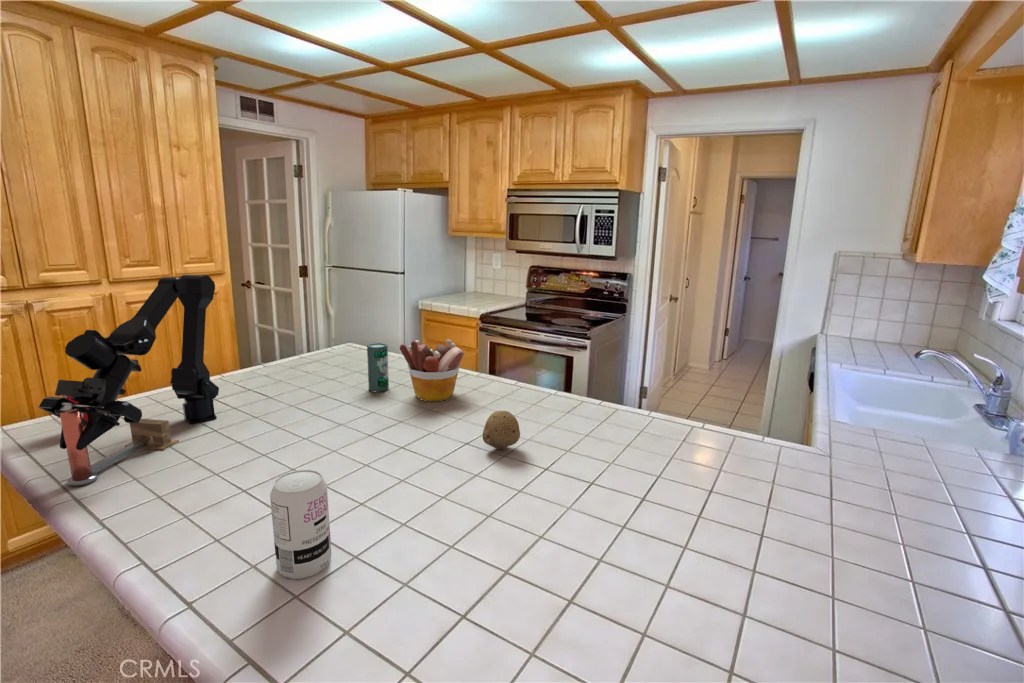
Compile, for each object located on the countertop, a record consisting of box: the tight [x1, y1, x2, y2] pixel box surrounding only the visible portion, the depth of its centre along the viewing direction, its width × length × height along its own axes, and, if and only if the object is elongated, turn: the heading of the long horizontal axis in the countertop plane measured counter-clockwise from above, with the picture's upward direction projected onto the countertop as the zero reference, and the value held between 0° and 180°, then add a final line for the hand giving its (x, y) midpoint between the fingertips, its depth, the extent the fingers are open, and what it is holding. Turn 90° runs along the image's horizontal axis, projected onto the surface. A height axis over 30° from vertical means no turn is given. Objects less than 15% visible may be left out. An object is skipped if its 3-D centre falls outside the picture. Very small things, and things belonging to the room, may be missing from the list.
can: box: [366, 342, 390, 393], centre depth 166 cm, size 6×6×15 cm
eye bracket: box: [124, 418, 180, 451], centre depth 122 cm, size 5×10×6 cm, turn 85°
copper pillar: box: [60, 409, 148, 487], centre depth 110 cm, size 19×5×15 cm, turn 174°
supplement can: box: [269, 469, 332, 580], centre depth 80 cm, size 8×8×15 cm
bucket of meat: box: [399, 339, 465, 402], centre depth 159 cm, size 20×16×20 cm
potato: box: [482, 410, 521, 450], centre depth 124 cm, size 9×9×10 cm
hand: (70, 448), depth 102 cm, fingers closed on copper pillar, 3 cm apart
